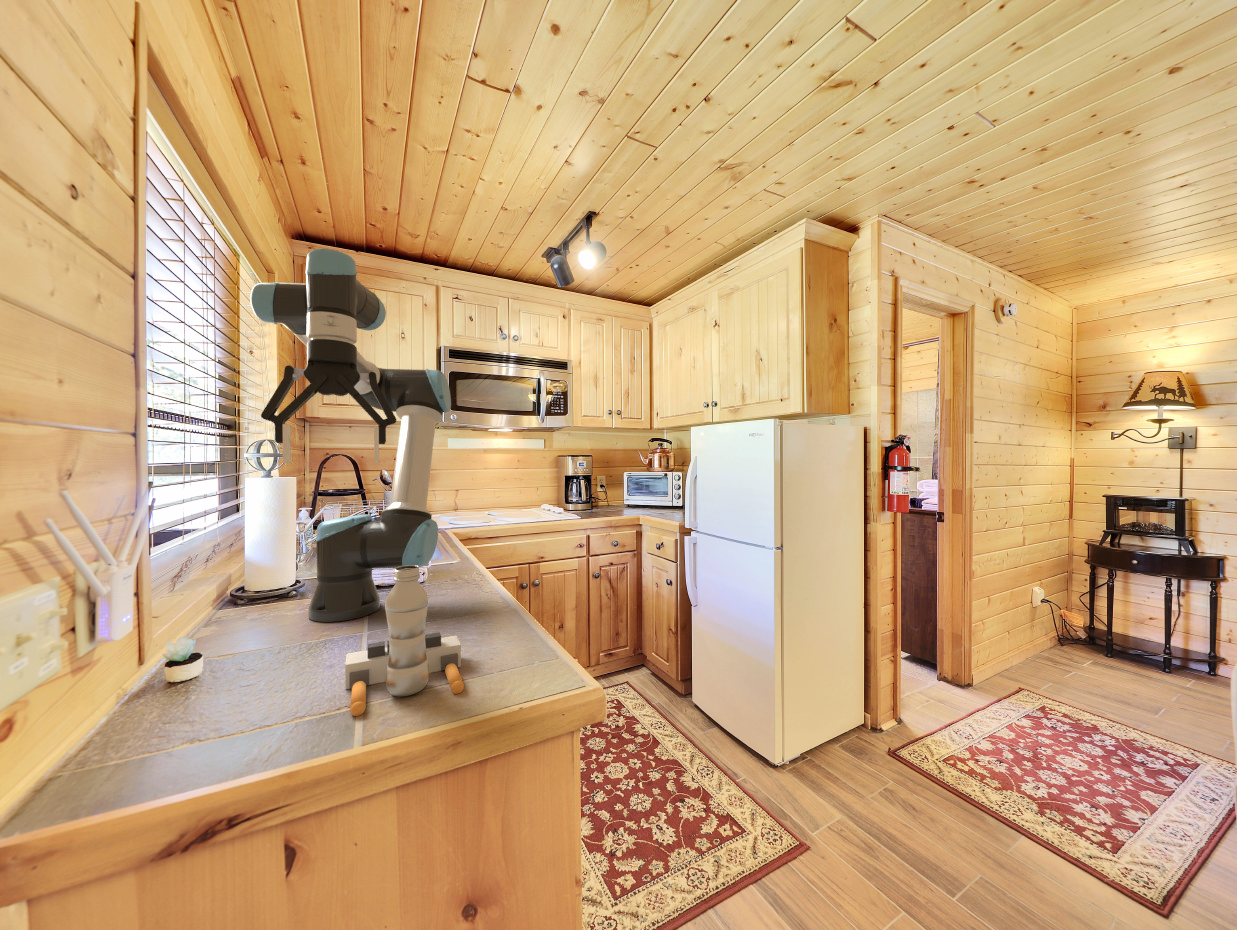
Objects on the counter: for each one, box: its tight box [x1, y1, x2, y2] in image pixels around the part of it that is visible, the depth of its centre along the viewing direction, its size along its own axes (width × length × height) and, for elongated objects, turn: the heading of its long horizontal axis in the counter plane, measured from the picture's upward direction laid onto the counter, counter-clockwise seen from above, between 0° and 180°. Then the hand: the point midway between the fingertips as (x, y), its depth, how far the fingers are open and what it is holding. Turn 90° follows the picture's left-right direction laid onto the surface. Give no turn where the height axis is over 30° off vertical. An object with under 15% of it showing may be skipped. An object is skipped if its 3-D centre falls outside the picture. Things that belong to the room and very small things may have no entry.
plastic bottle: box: [384, 565, 431, 697], centre depth 76 cm, size 6×7×20 cm
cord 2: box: [444, 663, 465, 695], centre depth 79 cm, size 9×2×2 cm, turn 28°
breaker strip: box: [344, 632, 462, 690], centre depth 83 cm, size 6×18×6 cm, turn 117°
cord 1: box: [349, 681, 367, 717], centre depth 72 cm, size 9×2×2 cm, turn 27°
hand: (333, 462), depth 84 cm, fingers open, 13 cm apart
